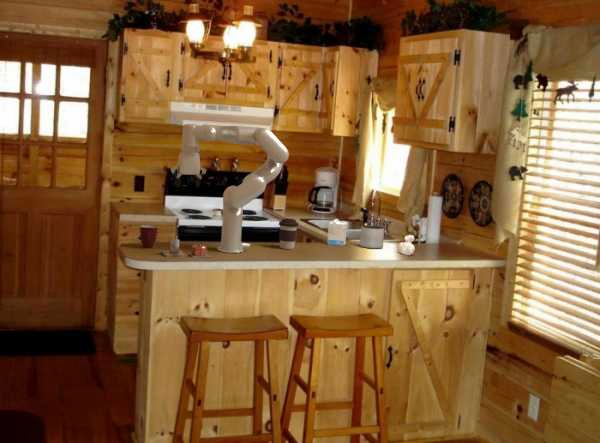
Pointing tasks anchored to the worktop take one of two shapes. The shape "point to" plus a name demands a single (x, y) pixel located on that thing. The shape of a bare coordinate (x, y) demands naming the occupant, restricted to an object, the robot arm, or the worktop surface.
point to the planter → (372, 237)
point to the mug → (148, 235)
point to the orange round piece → (199, 250)
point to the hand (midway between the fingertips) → (187, 186)
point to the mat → (198, 256)
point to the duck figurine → (407, 246)
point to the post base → (167, 253)
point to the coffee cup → (288, 233)
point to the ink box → (337, 233)
